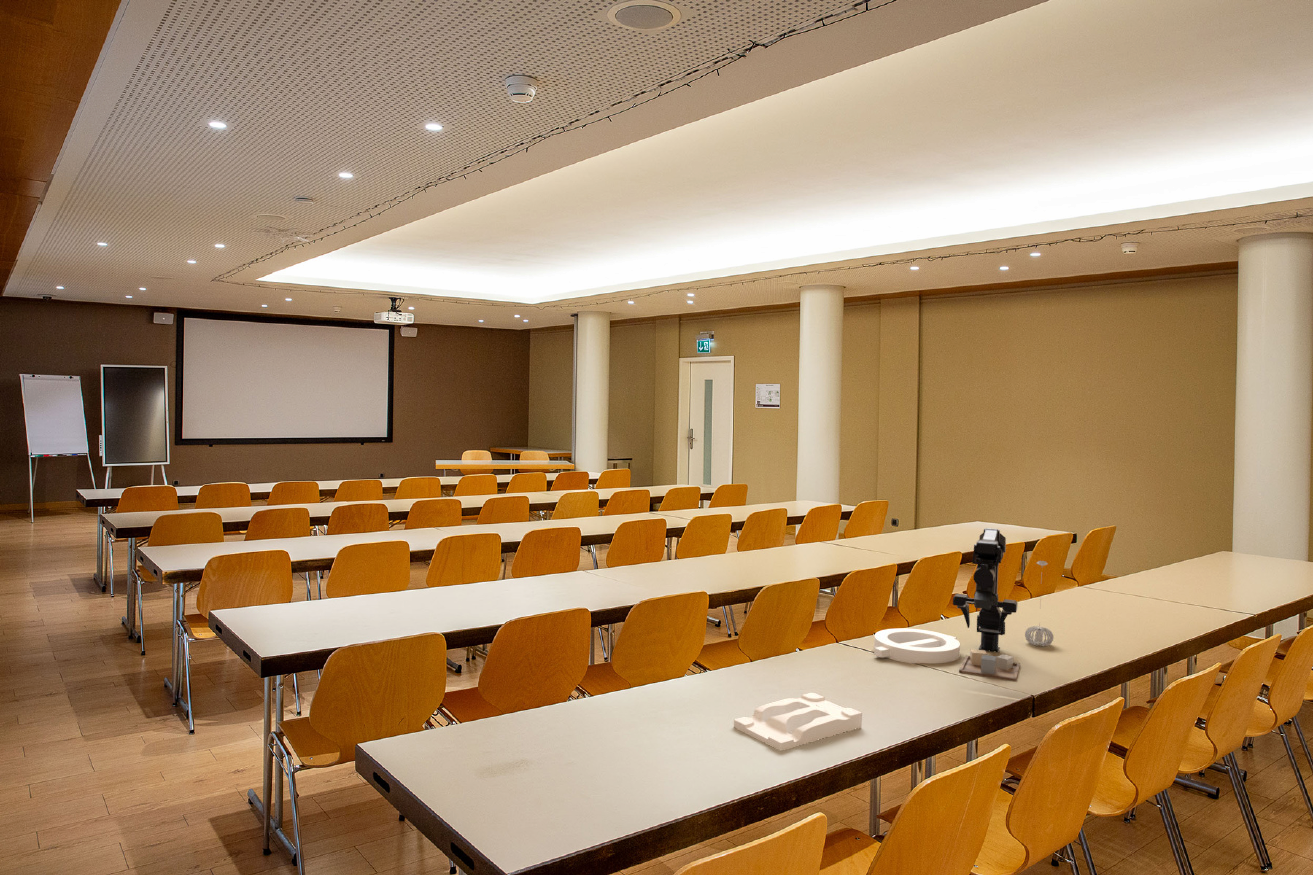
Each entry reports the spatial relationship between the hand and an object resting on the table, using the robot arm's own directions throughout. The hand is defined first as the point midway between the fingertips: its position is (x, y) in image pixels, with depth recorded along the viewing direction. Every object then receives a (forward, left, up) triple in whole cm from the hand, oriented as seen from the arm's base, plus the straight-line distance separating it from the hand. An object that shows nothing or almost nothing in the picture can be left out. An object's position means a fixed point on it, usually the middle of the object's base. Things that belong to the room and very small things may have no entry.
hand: (983, 629), depth 266 cm
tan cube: (-8, -2, -13) cm, 16 cm away
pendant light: (-46, +14, -14) cm, 50 cm away
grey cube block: (+1, +2, -13) cm, 14 cm away
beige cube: (-8, +6, -13) cm, 17 cm away
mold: (+73, -38, -15) cm, 84 cm away
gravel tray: (-4, +2, -14) cm, 15 cm away
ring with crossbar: (-13, -23, -14) cm, 30 cm away
